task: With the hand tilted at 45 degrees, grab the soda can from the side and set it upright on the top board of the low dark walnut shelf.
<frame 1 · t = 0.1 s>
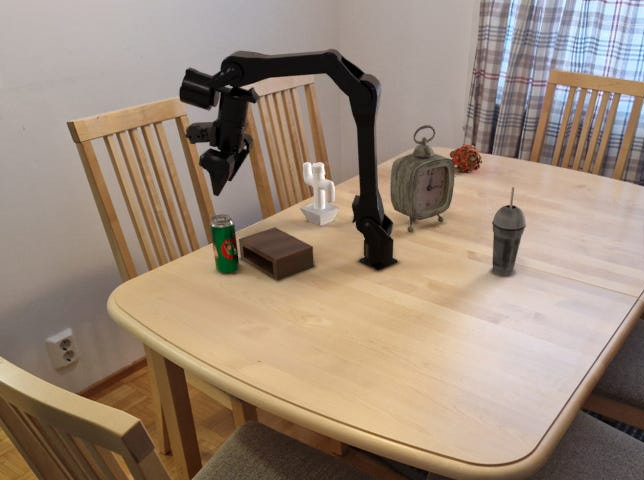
hand: (222, 187, 141), 15 cm above the table, tool pointing down, fingers open, 9 cm apart
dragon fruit: (463, 170, 203), on the table
shelf: (277, 262, 146), on the table
beverage cup: (502, 272, 146), on the table
figurine: (320, 222, 166), on the table
soda can: (228, 270, 143), on the table
tabletop clock: (418, 225, 167), on the table
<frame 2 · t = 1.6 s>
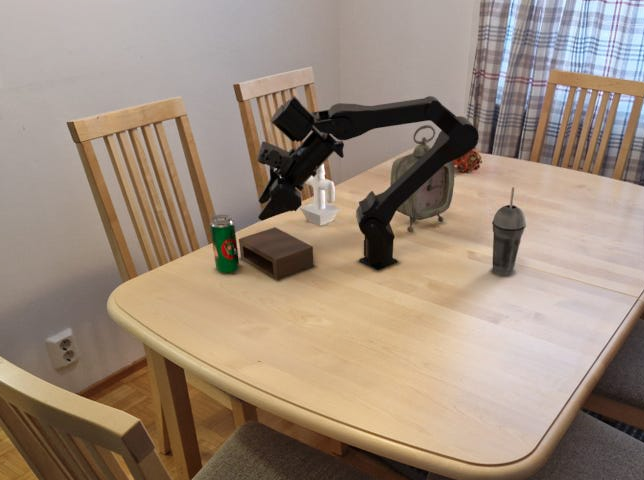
hand: (259, 210, 136), 13 cm above the table, tool tilted 45°, fingers open, 9 cm apart
nothing on the table moved.
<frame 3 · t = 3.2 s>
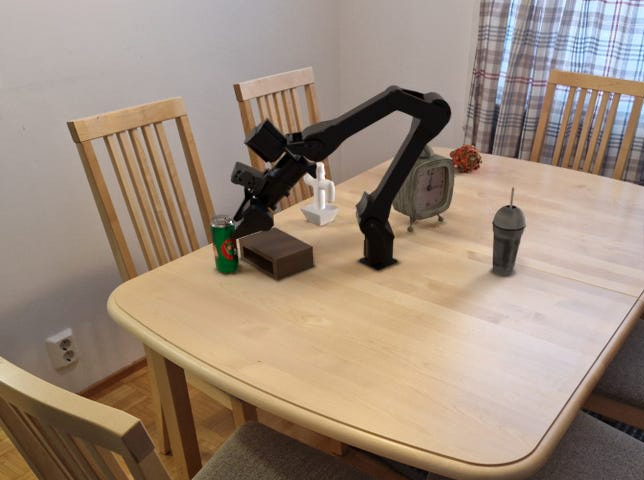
hand: (233, 229, 138), 9 cm above the table, tool tilted 45°, fingers open, 9 cm apart
nothing on the table moved.
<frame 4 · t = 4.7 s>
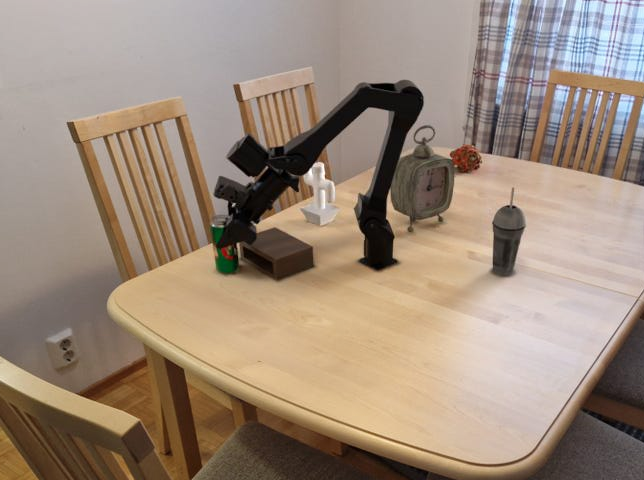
hand: (217, 242, 139), 7 cm above the table, tool tilted 45°, fingers closed on soda can, 5 cm apart
soda can: (228, 270, 143), on the table, touching gripper
everything else where it was.
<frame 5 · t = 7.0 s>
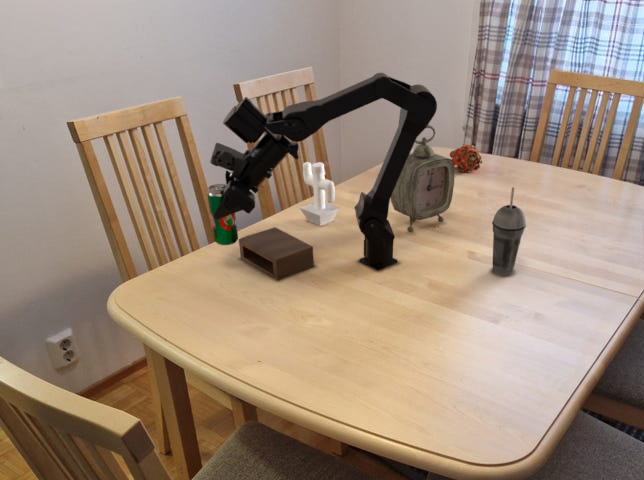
hand: (215, 212, 135), 13 cm above the table, tool tilted 45°, fingers closed on soda can, 5 cm apart
soda can: (226, 242, 139), point 6 cm above the table, touching gripper
everything else where it was.
when the fingers open (12 cm above the table, at t = 9.6 s): soda can stays where it is, resting on shelf.
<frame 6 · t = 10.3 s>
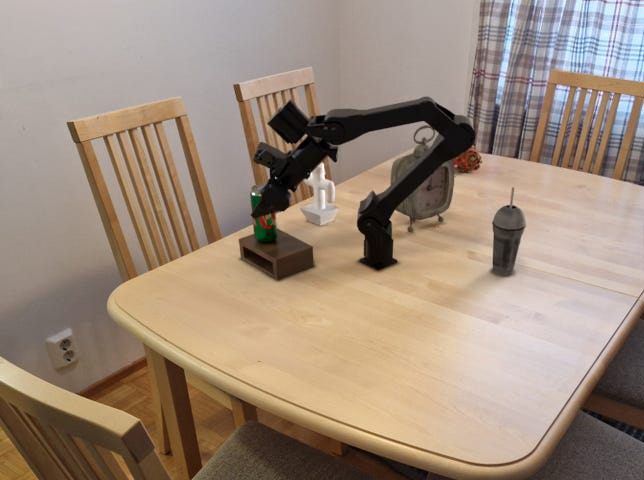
hand: (256, 208, 140), 12 cm above the table, tool tilted 45°, fingers open, 9 cm apart
soda can: (266, 240, 144), point 5 cm above the table, touching shelf
everything else where it was.
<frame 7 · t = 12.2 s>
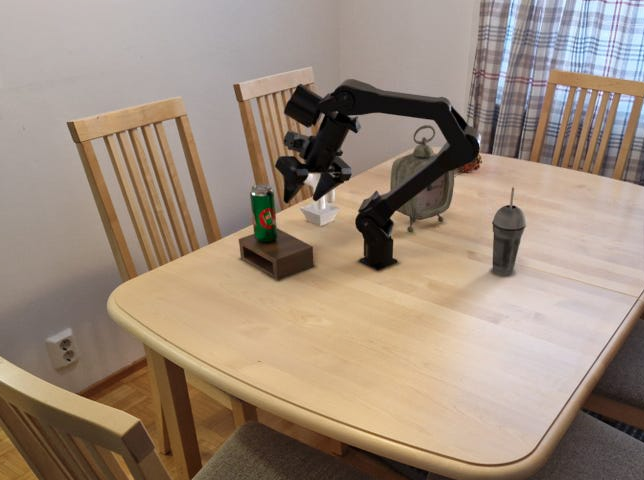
hand: (300, 201, 142), 13 cm above the table, tool tilted 25°, fingers open, 9 cm apart
nothing on the table moved.
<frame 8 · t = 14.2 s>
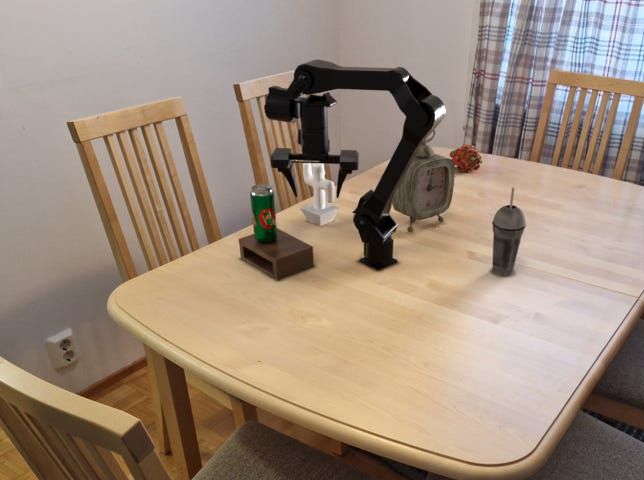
hand: (317, 197, 145), 13 cm above the table, tool pointing down, fingers open, 9 cm apart
nothing on the table moved.
at the end: soda can inside the target area on the shelf (2.8 cm from its centre), point 4.8 cm above the shelf's base; soda can tilted 0°; the gripper is holding nothing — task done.
